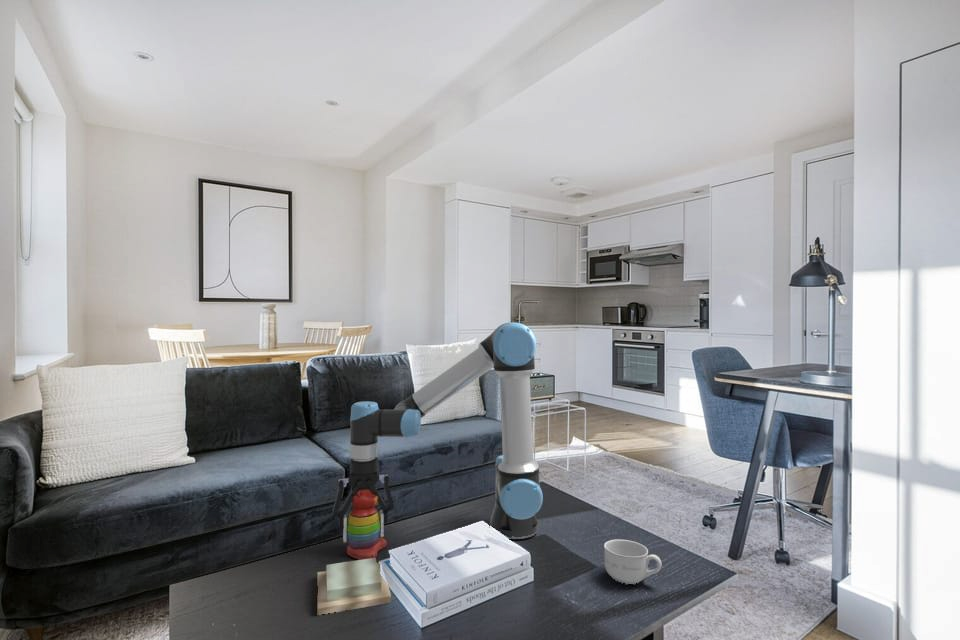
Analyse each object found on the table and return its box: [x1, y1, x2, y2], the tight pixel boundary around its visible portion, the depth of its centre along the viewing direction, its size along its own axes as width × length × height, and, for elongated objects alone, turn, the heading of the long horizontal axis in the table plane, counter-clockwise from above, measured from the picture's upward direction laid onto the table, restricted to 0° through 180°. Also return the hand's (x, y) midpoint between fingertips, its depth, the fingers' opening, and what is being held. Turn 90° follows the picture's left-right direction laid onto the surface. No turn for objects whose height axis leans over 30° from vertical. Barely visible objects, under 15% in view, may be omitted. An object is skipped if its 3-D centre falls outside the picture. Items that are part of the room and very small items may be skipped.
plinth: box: [316, 557, 392, 617], centre depth 114 cm, size 16×16×4 cm
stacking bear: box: [346, 489, 388, 560], centre depth 133 cm, size 11×10×18 cm
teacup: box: [603, 538, 663, 585], centre depth 119 cm, size 14×11×8 cm
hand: (363, 537), depth 133 cm, fingers closed on stacking bear, 9 cm apart
